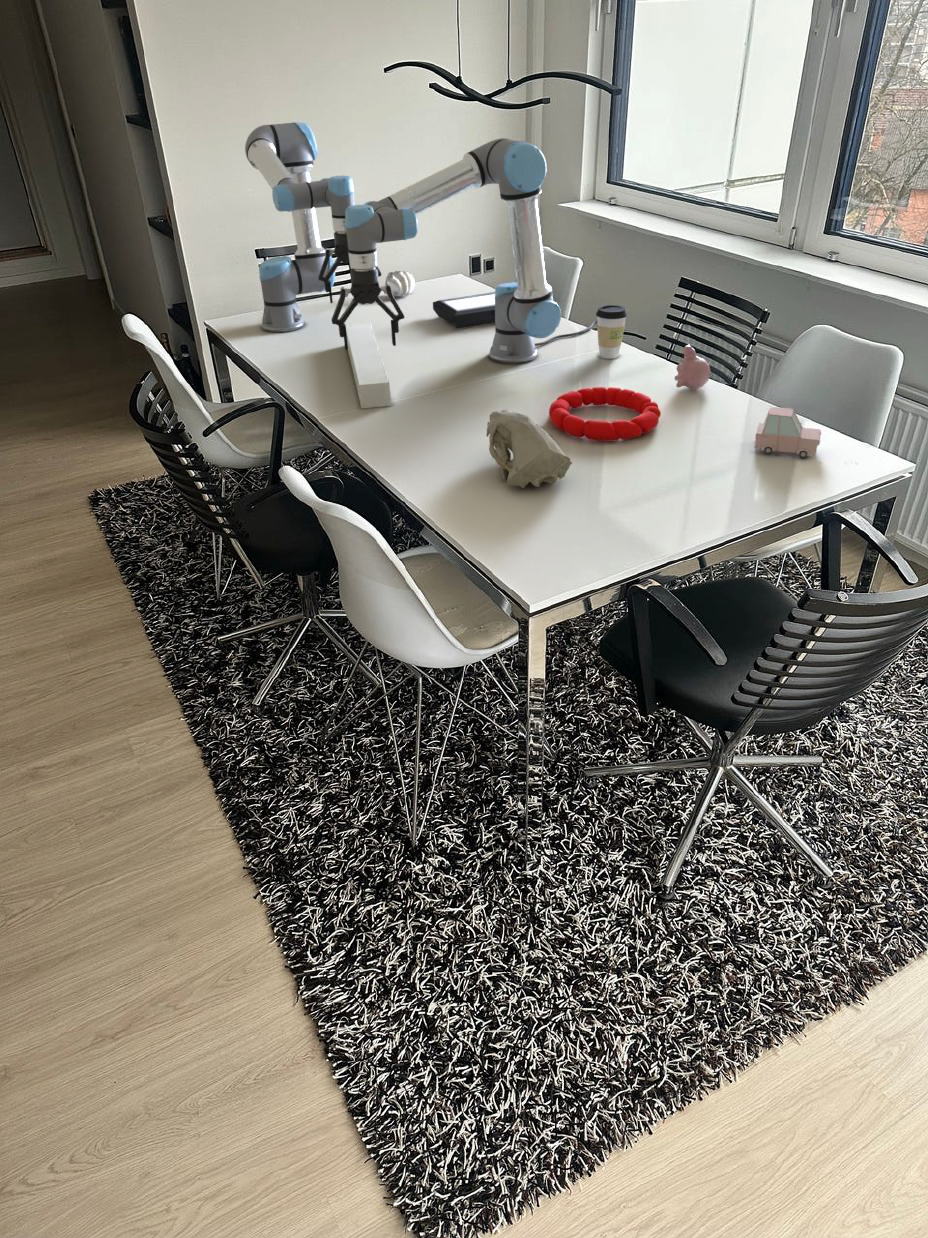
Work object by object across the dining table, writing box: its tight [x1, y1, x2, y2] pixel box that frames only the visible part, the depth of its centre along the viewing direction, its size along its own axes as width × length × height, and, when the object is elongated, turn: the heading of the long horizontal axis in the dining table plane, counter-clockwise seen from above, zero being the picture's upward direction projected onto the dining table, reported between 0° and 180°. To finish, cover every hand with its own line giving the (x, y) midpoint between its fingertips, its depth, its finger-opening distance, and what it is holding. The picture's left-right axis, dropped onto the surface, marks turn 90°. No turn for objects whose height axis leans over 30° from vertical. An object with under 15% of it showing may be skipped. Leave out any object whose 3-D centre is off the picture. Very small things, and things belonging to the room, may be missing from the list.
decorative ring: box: [548, 386, 661, 442], centre depth 242 cm, size 7×30×30 cm
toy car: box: [753, 406, 822, 459], centre depth 222 cm, size 9×15×10 cm, turn 70°
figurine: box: [674, 344, 711, 390], centre depth 259 cm, size 9×11×12 cm
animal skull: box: [485, 409, 573, 489], centre depth 216 cm, size 17×25×20 cm
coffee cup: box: [595, 304, 628, 360], centre depth 285 cm, size 10×10×15 cm
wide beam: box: [345, 322, 392, 409], centre depth 280 cm, size 60×9×7 cm, turn 10°
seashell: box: [384, 270, 416, 298], centre depth 353 cm, size 10×15×10 cm
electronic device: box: [432, 291, 495, 330], centre depth 326 cm, size 32×6×20 cm
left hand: (352, 300), depth 291 cm, fingers open, 13 cm apart
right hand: (370, 346), depth 253 cm, fingers open, 13 cm apart
